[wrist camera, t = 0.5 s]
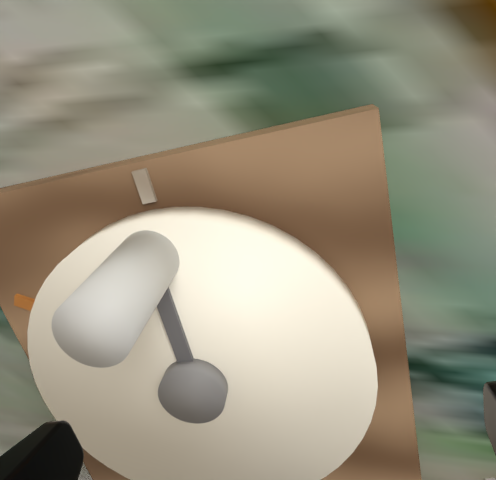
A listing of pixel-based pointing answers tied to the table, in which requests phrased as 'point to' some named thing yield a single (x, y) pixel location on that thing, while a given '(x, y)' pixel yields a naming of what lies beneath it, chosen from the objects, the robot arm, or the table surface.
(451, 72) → the table surface
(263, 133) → the dial base
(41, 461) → the robot arm
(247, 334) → the dial
